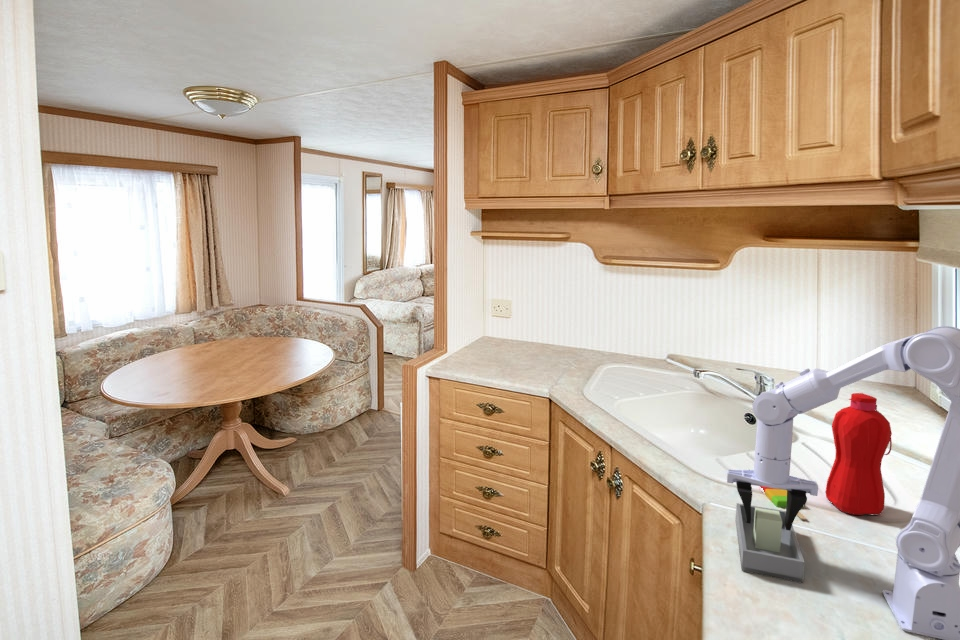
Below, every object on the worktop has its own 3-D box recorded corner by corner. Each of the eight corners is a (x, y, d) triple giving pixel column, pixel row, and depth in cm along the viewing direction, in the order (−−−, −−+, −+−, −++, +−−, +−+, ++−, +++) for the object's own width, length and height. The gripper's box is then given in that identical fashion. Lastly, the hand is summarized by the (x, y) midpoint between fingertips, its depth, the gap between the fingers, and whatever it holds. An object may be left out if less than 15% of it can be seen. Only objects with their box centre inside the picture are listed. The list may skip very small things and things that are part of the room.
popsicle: (782, 489, 122) (782, 482, 122) (818, 524, 108) (818, 515, 107) (757, 489, 123) (758, 481, 122) (790, 523, 108) (790, 514, 108)
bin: (802, 583, 88) (804, 562, 87) (741, 570, 92) (743, 550, 91) (786, 529, 105) (788, 511, 104) (735, 520, 108) (736, 503, 108)
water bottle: (899, 518, 108) (912, 401, 105) (843, 517, 109) (854, 400, 106) (870, 497, 117) (881, 389, 114) (818, 496, 118) (828, 388, 115)
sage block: (779, 552, 95) (782, 521, 95) (755, 547, 97) (757, 517, 96) (776, 541, 99) (779, 511, 98) (753, 536, 101) (755, 507, 100)
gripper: (814, 451, 96) (808, 521, 98) (727, 441, 102) (723, 507, 104) (822, 466, 90) (816, 540, 92) (729, 454, 95) (725, 524, 97)
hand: (767, 524), depth 97 cm, fingers open, 6 cm apart
